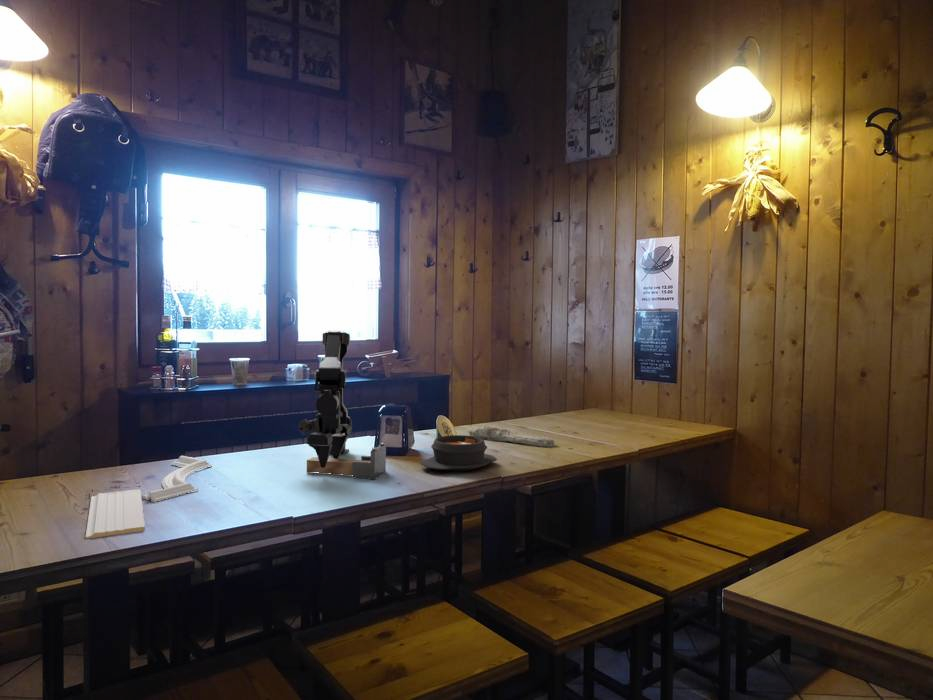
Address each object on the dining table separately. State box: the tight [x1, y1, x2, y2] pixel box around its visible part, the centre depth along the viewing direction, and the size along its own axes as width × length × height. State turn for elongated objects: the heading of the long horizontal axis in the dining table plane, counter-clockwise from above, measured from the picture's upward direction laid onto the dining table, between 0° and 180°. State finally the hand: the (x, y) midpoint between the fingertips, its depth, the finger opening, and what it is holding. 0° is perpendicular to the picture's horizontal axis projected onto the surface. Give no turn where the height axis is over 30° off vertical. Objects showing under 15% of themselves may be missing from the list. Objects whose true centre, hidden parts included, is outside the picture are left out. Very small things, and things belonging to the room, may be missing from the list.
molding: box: [141, 455, 212, 503], centre depth 170 cm, size 42×12×3 cm, turn 15°
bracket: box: [352, 442, 387, 481], centre depth 178 cm, size 10×7×9 cm
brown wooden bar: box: [306, 456, 371, 476], centre depth 179 cm, size 18×4×4 cm, turn 79°
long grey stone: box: [467, 425, 555, 448], centre depth 231 cm, size 35×5×10 cm
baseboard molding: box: [85, 484, 146, 540], centre depth 140 cm, size 31×3×12 cm
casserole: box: [419, 434, 498, 472], centre depth 189 cm, size 25×19×8 cm
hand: (329, 463), depth 180 cm, fingers open, 9 cm apart
